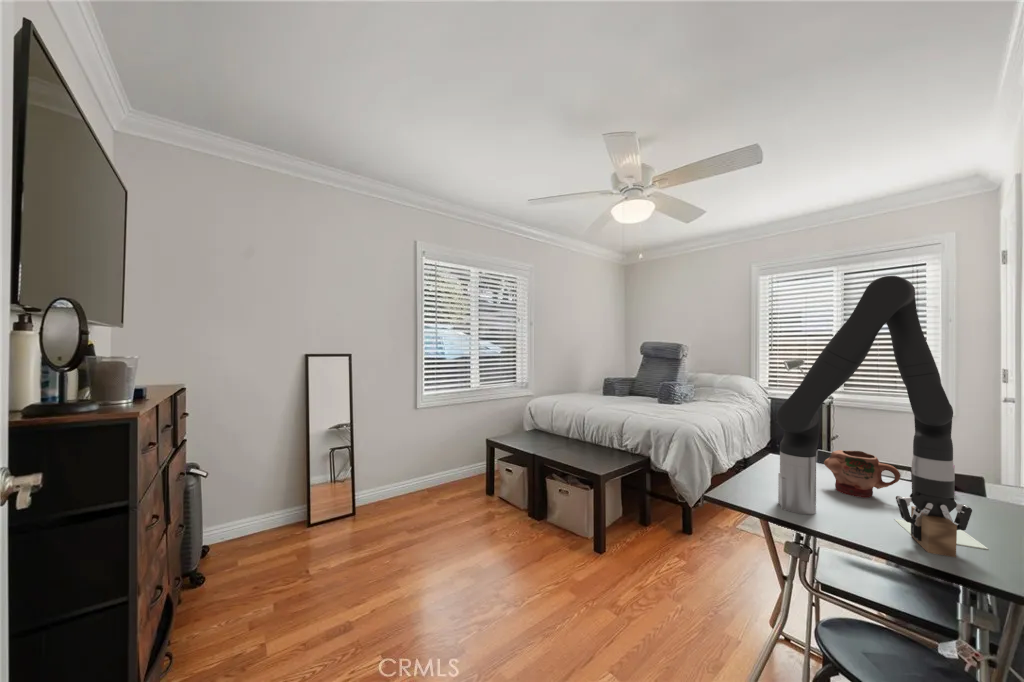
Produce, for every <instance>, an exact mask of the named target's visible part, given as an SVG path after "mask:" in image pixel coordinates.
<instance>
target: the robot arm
mask: <svg viewBox="0 0 1024 682" xmlns="http://www.w3.org/2000/svg"><path fill="white" fill-rule="evenodd" d="M918 314H919V313H918V310H917V300H916V289H915V286H914V285H913V283H912V282H911V281H909V280H907V279H906V278H904V277H902V276H898V275H889V274H888V275H885V276H880V277H878V278H876V279H874V280H873V281H872V282H870V283H869V284H868V285H867V286H866V288H865V290H864V292H863V293H862V295H861V297H860V299H859V300H858V303H857V305H856V306H855V308H854V310H853V311H852V313H851V314H850V316H849V317H848V318H847V320H846V321H845V323H843V325H842V326H841V327H840V328H839V329H838V330H837V332H836V333H835V334H834V335H833V337H831V338H830V339H831V340H829V342H828V343H827V344H826V345H825V346H824V348H823V349H822V351H821V352H820V354H819V355H818V357H817V358H816V360H815V361H814V363H813V364H812V366H811V367H810V369H809V370H808V372H807V373H806V375H805V376H804V378H803V380H801V383H800V384H799V385H798V387H797V388H796V389H795V390H794V391H793V393H792V394H791V395H790V396H789V397H788V398H787V399H786V400H785V401H784V402H783V403H782V404H781V406H780V407H779V408H778V410H777V411H776V417H775V418H776V422H777V424H778V426H779V428H780V429H781V430H783V431H784V433H783V437H782V438H781V441H780V443H779V473H778V480H777V482H778V487H777V492H778V493H777V494H778V496H777V498H778V499H777V500H778V501H777V503H778V502H779V503H778V504H780V505H779V507H780V506H781V507H780V509H781V508H782V510H784V509H786V510H785V511H788V510H789V511H788V512H791V513H795V514H799V515H815V514H817V513H816V512H817V451H818V447H819V441H820V416H819V412H818V411H819V409H820V408H821V406H822V405H823V403H824V402H825V401H826V400H827V399H828V398H830V396H831V395H832V394H834V393H835V392H836V391H837V390H839V389H840V388H841V387H842V386H843V385H844V384H845V383H846V382H848V381H849V379H850V378H851V377H852V376H853V375H854V374H855V373H856V371H857V370H858V369H859V367H861V365H862V364H863V362H864V360H865V359H866V358H867V356H868V354H869V352H870V350H871V348H872V346H873V344H874V343H875V340H876V337H877V336H878V334H879V332H880V331H881V329H882V328H883V327H884V325H886V326H887V328H888V332H889V335H890V339H891V343H892V349H893V355H894V359H895V362H896V366H897V369H898V372H899V374H900V375H899V376H900V377H901V379H902V382H903V384H904V386H905V388H906V392H907V393H906V394H907V395H908V396H907V397H908V400H909V404H910V409H911V411H912V413H913V417H914V419H913V420H914V436H913V442H912V443H913V444H912V460H911V470H910V471H911V494H910V495H909V496H900V495H897V496H895V500H896V504H897V506H898V510H899V514H900V517H901V518H902V520H905V521H906V522H909V523H911V534H912V536H913V537H914V538H915V539H916V540H918V541H921V524H922V518H923V516H927V515H929V516H933V515H935V516H938V517H944V518H945V519H948V520H951V521H952V522H953V523H954V524H956V525H957V530H963V531H964V532H965V530H966V529H967V528H968V524H969V521H970V518H971V516H972V513H973V509H972V508H971V507H969V506H968V505H967V504H964V503H958V502H956V500H955V496H956V495H955V466H954V444H953V439H952V432H953V431H952V428H953V417H954V409H953V406H952V405H951V403H950V400H949V398H948V396H947V394H946V392H945V389H944V387H943V385H942V379H941V375H940V371H939V368H938V366H937V364H936V361H935V359H934V356H933V353H932V350H931V349H930V346H929V345H928V342H927V339H926V337H925V335H924V332H923V329H922V326H921V323H920V318H919V315H918ZM911 503H912V504H913V505H914V507H915V509H914V511H913V515H912V517H911V514H910V513H911V512H910V511H909V510H910V509H909V508H908V507H909V506H911V505H910V504H911ZM954 509H955V510H956V512H957V513H956V516H955V519H953V517H952V516H951V514H950V513H951V512H953V510H954ZM917 511H920V513H918V512H917ZM953 520H954V521H953ZM911 534H910V535H911ZM912 536H911V537H912ZM913 537H912V538H913ZM914 538H913V539H914ZM915 539H914V540H915ZM916 540H915V541H916Z"/></svg>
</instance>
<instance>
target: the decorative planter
mask: <svg viewBox="0 0 1024 682" xmlns="http://www.w3.org/2000/svg"><path fill="white" fill-rule="evenodd" d="M823 464H824V466H825V467H826V468H827V469H828V470H830V472H831V473H832V474H833V477H834V478H835V483H834V486H835V487H834V488H835V489H836V491H838V492H840V493H842V494H844V495H848V496H851V497H857V498H861V499H864V498H865V499H867V498H871V497H873V494H874V490H873V489H874V488H875V489H877V490H879V489H884V488H888V487H889V486H892V485H895V484H896V483H898V482H899V481H900V479H901V477H902V475H901V473H900V471H899V470H898V468H896V467H894V466H893V465H890V464H887V463H882V462H880V461H879V459H878V457H877V456H875V455H874V454H871V453H867V452H864V451H861V450H842V449H841V450H839V449H838V450H833V451H831V452H830V455H829V456H828V458H826V459H825V460H824V461H823ZM884 471H887V472H891V474H893V476H894V479H893V480H892V481H887V482H885V481H883V478H882V477H883V476H882V473H883V472H884Z"/></svg>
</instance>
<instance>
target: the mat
mask: <svg viewBox="0 0 1024 682" xmlns="http://www.w3.org/2000/svg"><path fill="white" fill-rule="evenodd" d="M893 520H894V521H895V522H896V523H897V524H898V525H900V526H901V527H902V528H903V530H905V531H906V532H907V533H908V534H909V535H911V523H909V522H906V521H905V520H904V519H896V518H893ZM956 546H962V547H967V548H968V547H969V548H974V549H981V550H987V551H989V548H988V547H986V546H985V545H984V544H982V543H981V542H980V541H979V540H977V539H975V538H974V537H972V536H971V535H970V534H968V533H967V532H965V530H964V531H963V530H957V541H956Z"/></svg>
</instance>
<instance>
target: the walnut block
mask: <svg viewBox="0 0 1024 682" xmlns="http://www.w3.org/2000/svg"><path fill="white" fill-rule="evenodd" d="M910 506H911V509H910V513H911V514H910V517H912V515H913V511H914V509H915V507H916V506H915V505H914V506H913V505H910ZM917 512H918V513H920V511H917ZM910 537H911V538H913V540H915V542H917V544H918V545H919V546H920V547H922V549H924V550H925V551H926V552H927V553H928V554H933V555H941V556H945V557H946V556H947V557H951V558H956V557H957V545H956V541H957V525H956V524H954V521H953V522H952V521H951V520H948V519H945V518H944V517H938V516H935V515H933V516H929V515H927V516H923V518H922V524H921V541H918V540H916V539H915V538H914V537H913V536H912V534H910Z"/></svg>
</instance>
